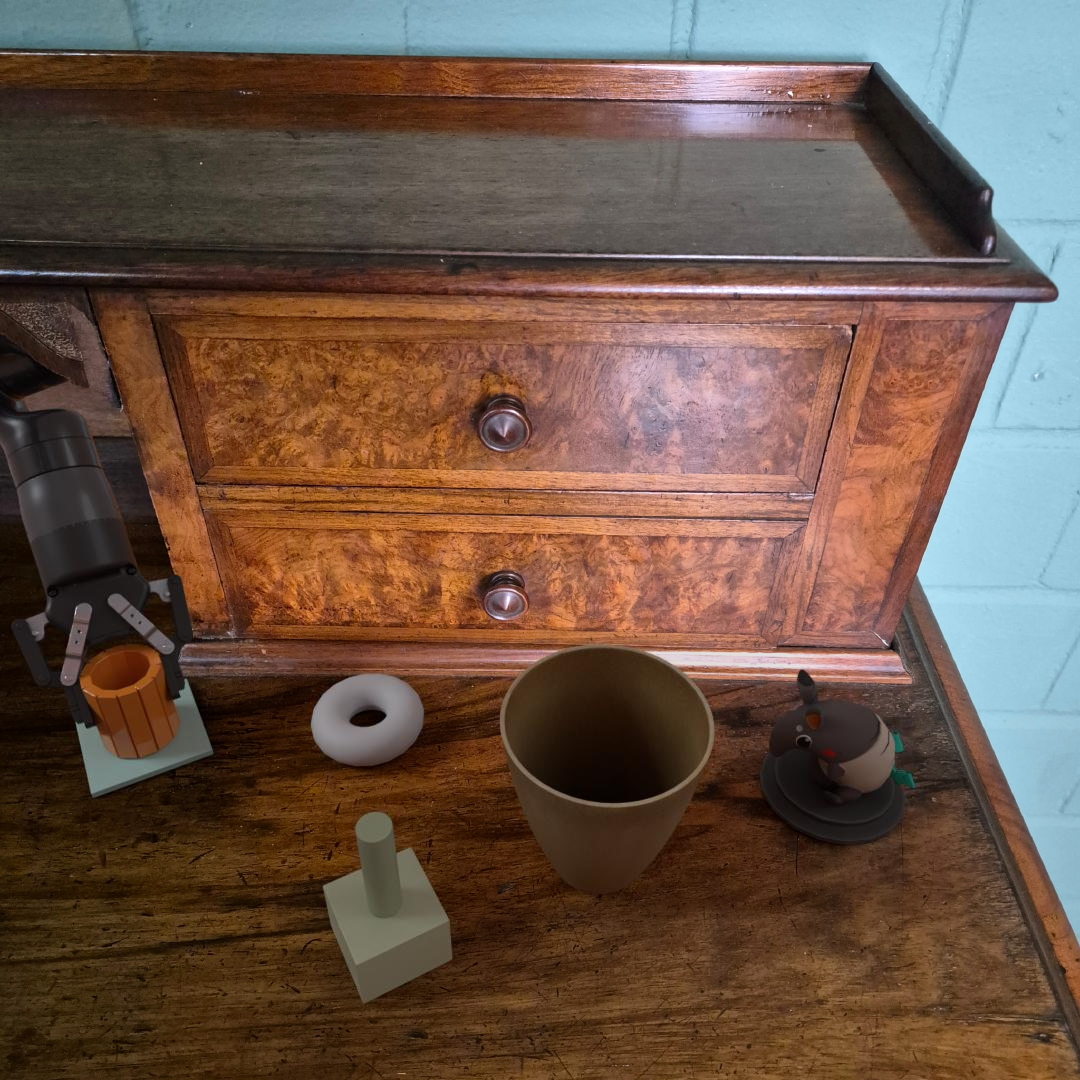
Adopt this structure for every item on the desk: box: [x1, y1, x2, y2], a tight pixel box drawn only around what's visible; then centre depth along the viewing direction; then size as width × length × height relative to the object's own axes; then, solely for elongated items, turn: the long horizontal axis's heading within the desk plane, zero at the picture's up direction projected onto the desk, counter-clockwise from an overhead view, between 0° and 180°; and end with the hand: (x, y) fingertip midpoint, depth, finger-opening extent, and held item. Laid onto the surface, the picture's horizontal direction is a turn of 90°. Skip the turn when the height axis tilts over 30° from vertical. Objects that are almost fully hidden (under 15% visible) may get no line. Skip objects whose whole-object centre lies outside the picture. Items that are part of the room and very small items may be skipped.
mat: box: [75, 678, 214, 799], centre depth 85 cm, size 10×10×1 cm
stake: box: [322, 811, 453, 1005], centre depth 65 cm, size 7×7×14 cm
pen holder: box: [79, 643, 180, 758], centre depth 82 cm, size 6×6×8 cm
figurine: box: [758, 669, 916, 845], centre depth 77 cm, size 11×12×12 cm
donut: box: [310, 673, 425, 767], centre depth 85 cm, size 10×4×10 cm
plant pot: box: [499, 643, 715, 895], centre depth 71 cm, size 15×15×16 cm
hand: (134, 712), depth 81 cm, fingers closed on pen holder, 6 cm apart
